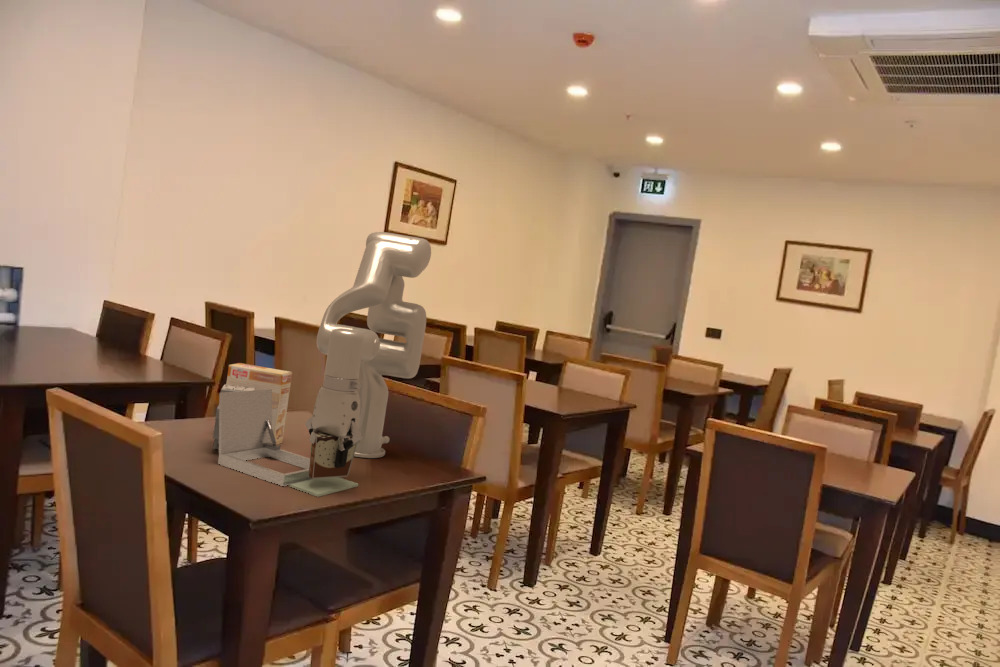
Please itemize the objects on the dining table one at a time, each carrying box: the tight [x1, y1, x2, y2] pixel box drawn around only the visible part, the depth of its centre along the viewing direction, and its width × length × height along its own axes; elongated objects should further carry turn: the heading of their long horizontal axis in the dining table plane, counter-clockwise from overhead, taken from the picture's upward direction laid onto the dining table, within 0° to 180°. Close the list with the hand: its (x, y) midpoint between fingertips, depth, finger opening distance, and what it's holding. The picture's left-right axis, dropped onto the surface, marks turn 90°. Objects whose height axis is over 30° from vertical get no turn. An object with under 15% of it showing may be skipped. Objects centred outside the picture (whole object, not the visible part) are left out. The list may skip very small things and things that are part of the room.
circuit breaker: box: [212, 383, 255, 451], centre depth 186 cm, size 8×14×15 cm, turn 15°
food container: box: [308, 428, 360, 479], centre depth 169 cm, size 12×6×10 cm, turn 136°
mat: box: [289, 477, 359, 498], centre depth 169 cm, size 14×8×1 cm, turn 153°
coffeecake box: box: [225, 362, 293, 445], centre depth 199 cm, size 15×7×20 cm, turn 84°
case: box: [217, 389, 312, 487], centre depth 176 cm, size 16×23×16 cm
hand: (328, 462), depth 168 cm, fingers closed on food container, 6 cm apart
